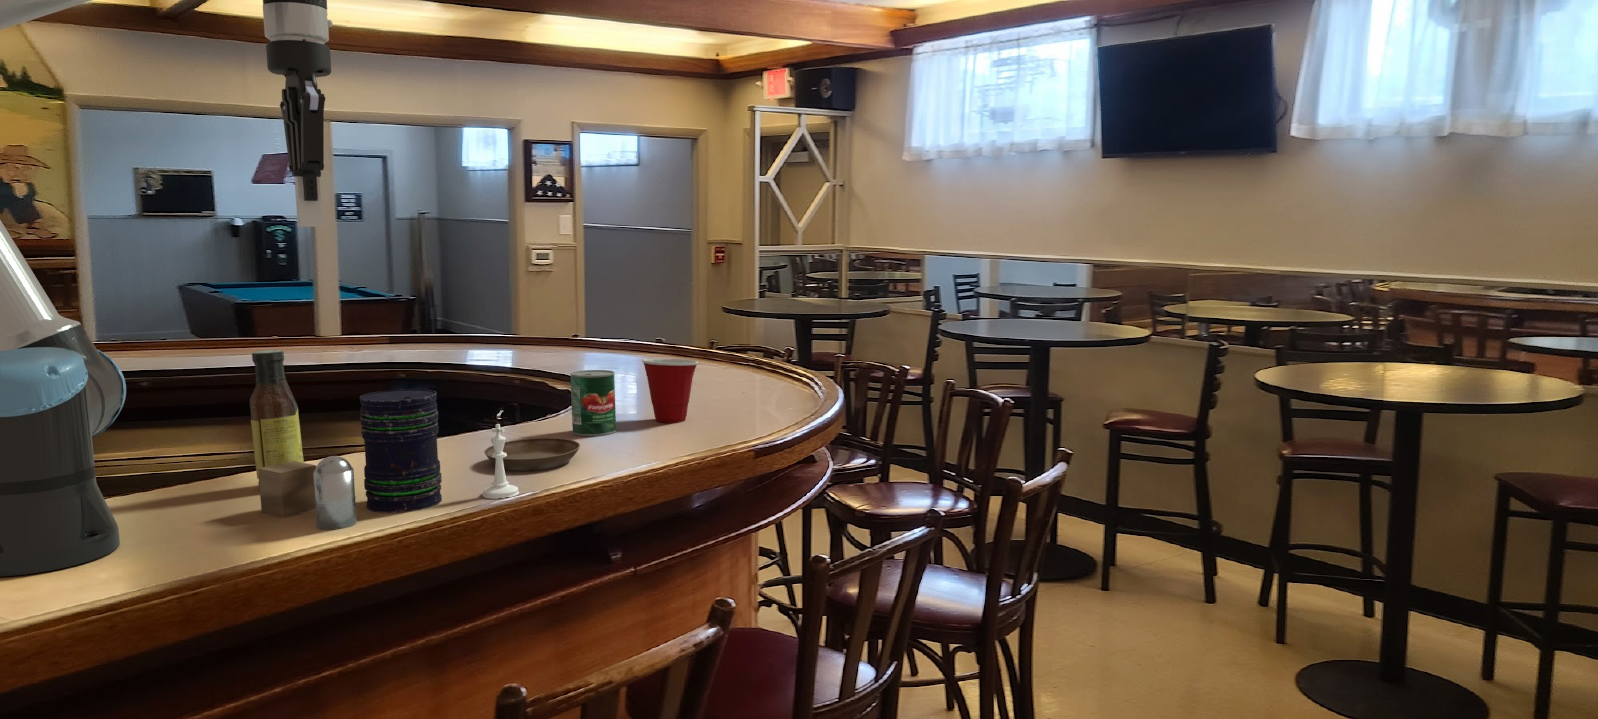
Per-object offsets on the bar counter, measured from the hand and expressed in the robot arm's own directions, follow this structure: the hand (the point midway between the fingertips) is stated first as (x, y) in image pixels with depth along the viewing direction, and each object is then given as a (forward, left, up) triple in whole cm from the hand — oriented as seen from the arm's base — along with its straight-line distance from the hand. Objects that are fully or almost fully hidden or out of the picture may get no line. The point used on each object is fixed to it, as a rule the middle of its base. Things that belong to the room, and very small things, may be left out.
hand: (310, 226), depth 138 cm
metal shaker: (-2, -12, -37) cm, 39 cm away
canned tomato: (+51, +21, -38) cm, 67 cm away
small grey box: (-5, -1, -38) cm, 38 cm away
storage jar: (+8, -7, -38) cm, 39 cm away
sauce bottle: (-3, +14, -38) cm, 40 cm away
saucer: (+32, +5, -38) cm, 50 cm away
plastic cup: (+68, +22, -38) cm, 81 cm away
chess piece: (+20, -11, -38) cm, 44 cm away
